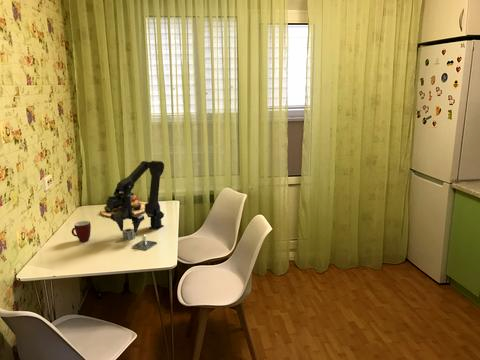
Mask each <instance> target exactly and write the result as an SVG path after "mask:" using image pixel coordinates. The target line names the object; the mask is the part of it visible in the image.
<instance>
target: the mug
mask: <svg viewBox="0 0 480 360" xmlns="http://www.w3.org/2000/svg"><path fill="white" fill-rule="evenodd" d="M91 230H92V226H91V221H88V220H82V221H81V220H80V221H78V222H75V223H74V227H73V228H72V229H71V234H72V236H74V237H76V238H77V239H78V240H79V242H80V243H85V242H88V241H89V239H90V237H91Z"/></svg>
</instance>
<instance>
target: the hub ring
mask: <svg viewBox="0 0 480 360" xmlns="http://www.w3.org/2000/svg"><path fill="white" fill-rule="evenodd" d="M135 235H136V233H134V228H124V229H123V231H122V237H123V238H122V239H123V241H132V240H134V239H135V238H136V236H135Z"/></svg>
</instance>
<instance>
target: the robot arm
mask: <svg viewBox="0 0 480 360" xmlns="http://www.w3.org/2000/svg"><path fill="white" fill-rule="evenodd" d="M148 169H149V174H150V175H151V176H150V177H151V178H150V189H149V199H148V201H147V202H145V209H144V210H145V214H146V216H147V218H150V219H149V220H150V222H149V223H150V226H148V228H149V229H153V230H159V229H162V228H163V227H164V226H165V225H164V224H162V223H163V222H162V219H163V218H164V216H165V213H164V212H163V211H161V206H160V202H159V194H160V193H159V192H160V182H161V176H162V175H163V173H164V170H165V163H164V162H163V161H160V160H151V161H147V160H143V161H140V163H139V165H137V167H135V169H134V170H133V171H132V172H131V173H130V174H129V175H128V176H126V177H125V178H123V179H121V180H120V181H119V182H117V184H116V187H115V190H114V192H113V195H110V196H109V195H108V199H106V201H105V204H106V205H107V207H108V208H109V209H110V210H111V209H115V208H118V207H119V211H118V212H115V213H113V214H111V216H110V217H111V218H110V220H112V221H113V222H115V223H116V224H117V226H118V228H119V230H120V232H123V230H124V221H125V220H131V224H132V225H133V229H134V233H135V234H136V233H137V232H138V229H139V227H140V225H141V223H142V222H143V221H145V216H144V215H143V214H140V215H139V214H137V215H135V216H133V215H134V213H133V212H132V208H133V205H132V204H131V197H132V196H134V195H135V193H134V192H132V191H133V189H134V188H135V184H136V182H137V181H138V180H140V178H141V177H142V176H143V175H144V174H145V173H146V171H148Z"/></svg>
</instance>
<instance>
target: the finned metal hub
mask: <svg viewBox="0 0 480 360" xmlns="http://www.w3.org/2000/svg"><path fill="white" fill-rule="evenodd" d="M141 235H142V236H141V238H142V240H140V241H138V242H136V243H134V244H132V246H131V248H132V249H137V250H138V249H139V250H144V251H148V250H149V249H151V248H154V246H156V245H158V242H157V241H153V240H147V234H145V233H144V234H141Z"/></svg>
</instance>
